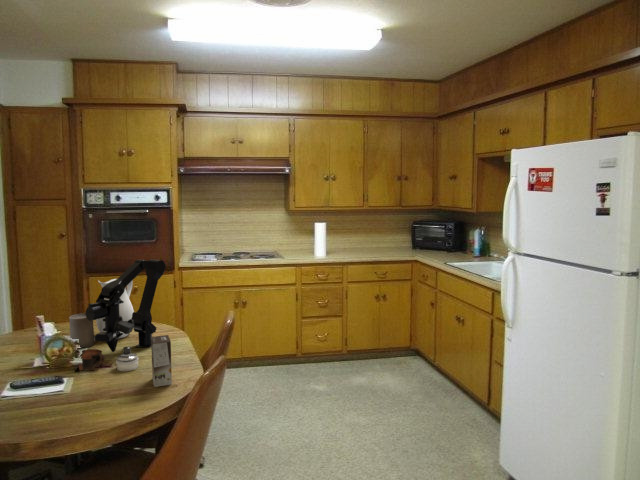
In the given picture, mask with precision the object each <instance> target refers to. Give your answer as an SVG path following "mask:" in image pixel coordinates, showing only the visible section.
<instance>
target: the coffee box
mask: <svg viewBox="0 0 640 480" xmlns="http://www.w3.org/2000/svg"><path fill="white" fill-rule="evenodd" d="M150 350H151V371H152V375H151V376H152V383H153V387H154V388H158V387H163V386H171V385H172V384H173V382H172V381H173V378H172V342H171V338H170V337H169V335H168V334H166V335H156V336H152V337H151V347H150Z"/></svg>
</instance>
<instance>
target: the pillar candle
mask: <svg viewBox="0 0 640 480" xmlns="http://www.w3.org/2000/svg"><path fill="white" fill-rule="evenodd" d="M68 319H69V322H68V323H69V338H72V339H79V345H80V347H87V348H90V347H92V346H94V345H95V344H96V343H95V341H94V336H95V332H94V320H93V321H89V320H88V319H87V317H86V314H85V312H83V313H82V312H81V313H76V314H72V315H70V316H69V317H68Z"/></svg>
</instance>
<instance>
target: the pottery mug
mask: <svg viewBox="0 0 640 480" xmlns="http://www.w3.org/2000/svg"><path fill="white" fill-rule="evenodd" d="M78 358H79V359H81V364H79V365H78V367H79V368H78V370H79V371H94V370H95V367H97V368H99V367H100V366H101V365H102V364H103V363H104V362H105V358H106V356H105V355H104V353H103V351H102V350H101V349H96V348H91V349H90V348H88V349H83V350H82V351H81V353H80V355H79V356H78Z"/></svg>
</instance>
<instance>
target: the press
mask: <svg viewBox="0 0 640 480" xmlns="http://www.w3.org/2000/svg"><path fill="white" fill-rule="evenodd" d="M139 359H140V358H139V356H138V355H137V358H136V359H134V360H130V361H119V360H118V358H116V359H115V363H116V370H117V371H118V372H131V371H134V370H137V369H138V368H139Z"/></svg>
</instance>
